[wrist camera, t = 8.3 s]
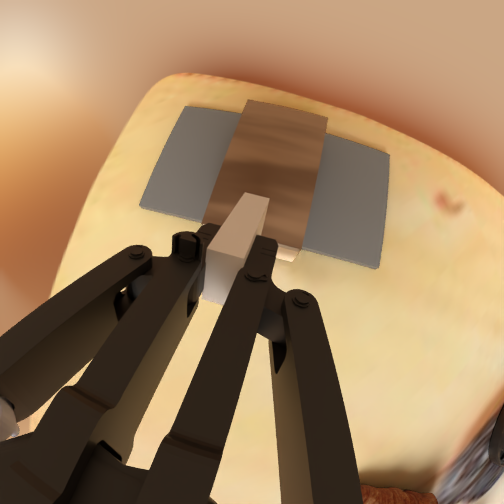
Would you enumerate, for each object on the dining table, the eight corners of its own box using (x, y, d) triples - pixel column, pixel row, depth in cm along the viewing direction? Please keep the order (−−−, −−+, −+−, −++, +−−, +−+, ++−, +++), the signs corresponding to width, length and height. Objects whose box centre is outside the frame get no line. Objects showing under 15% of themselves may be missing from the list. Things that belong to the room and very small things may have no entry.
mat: (375, 269, 23) (378, 267, 22) (142, 208, 24) (138, 205, 23) (386, 158, 25) (389, 154, 24) (186, 110, 26) (185, 106, 26)
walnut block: (300, 252, 18) (327, 117, 21) (200, 225, 19) (247, 99, 21) (292, 262, 22) (319, 143, 24) (209, 240, 23) (248, 126, 25)
